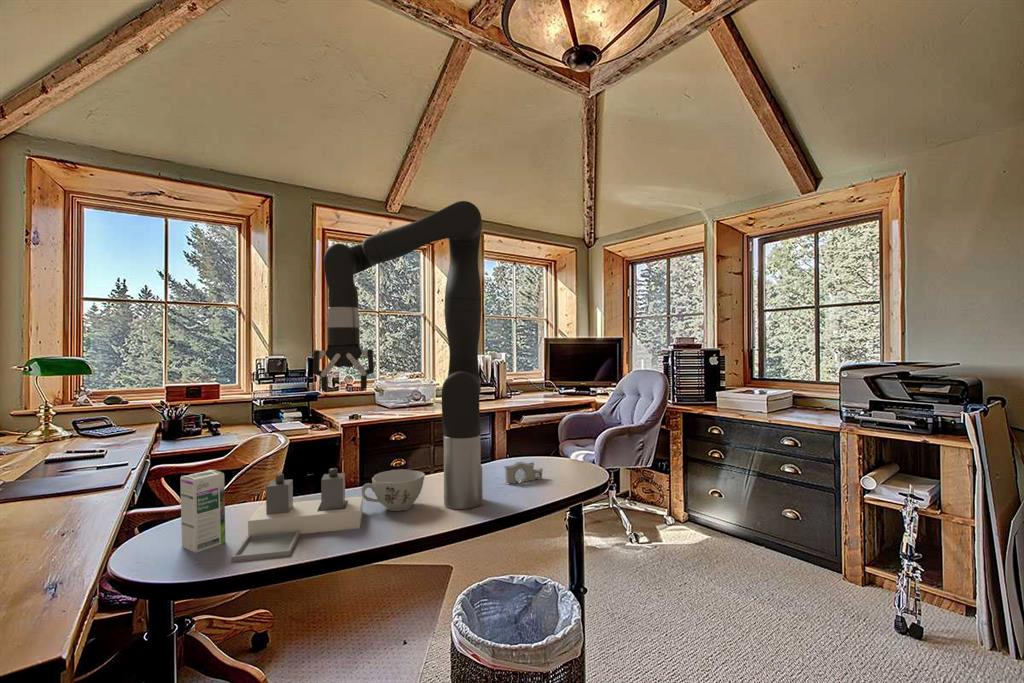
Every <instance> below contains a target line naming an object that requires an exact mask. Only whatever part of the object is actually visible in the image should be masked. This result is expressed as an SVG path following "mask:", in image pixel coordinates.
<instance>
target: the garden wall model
mask: <svg viewBox="0 0 1024 683" xmlns="http://www.w3.org/2000/svg"><path fill="white" fill-rule="evenodd" d="M534 466H535V462H533V461H532V462H527V463H526V462H524V461H517V462H515V463H514V464H512V465H505V466H504V469H505V484H506V483H513V484H515V483H514V482H519V481H520V480H521V482H523V483H524V481H526V482H530V481H529V480H532V481H536V480H535V479H538V480H542V479H543V470H544V469H543V468H538V469H537V468H536V469H534V468H535V467H534Z"/></svg>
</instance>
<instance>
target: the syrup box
mask: <svg viewBox="0 0 1024 683" xmlns="http://www.w3.org/2000/svg"><path fill="white" fill-rule="evenodd" d="M225 490H226V489H225V473H224V472H222V471H219V470H217V469H208V470H206V471H205V470H204V471H202V472H195V473H191V474H188V475H181V476H180V514H181V515H180V522H181V525H180V526H181V547H182V548H184V549H186V550H188V551H191V552H193V553H195V554H196V553H199V552H203V551H205V550H209V549H211V548H214V547H216V546H219V545H223V544H225V543H226V507H225V506H226V503H225V502H226V497H225V496H226V495H225Z"/></svg>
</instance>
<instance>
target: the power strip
mask: <svg viewBox="0 0 1024 683" xmlns="http://www.w3.org/2000/svg"><path fill="white" fill-rule="evenodd" d="M284 475H285V474H284V473H277V474H276V475H275V480H271V481H269V483H268V484H267V485H266V487H265V498H266V499H265V503H264V504H260V506H258V508H257V509H256V511H255V512H254V513H252V515H251V516H250V517H249V519H248V521H247V535H256V534H267V533H277V532H288V531H298V530H300V535H302V534H311V533H312V534H314V533H323V532H334V531H342V530H343V531H344V530H345V531H346V530H354V529H356V530H357V529H360V528H361V522H362V517H363V512H364V511H363V508H364V507H363V499H364V498H363V496H362V495H361V496H350V497H349V496H348V497H345V509H341V510H329V511H321V499H315V500H314V499H313V500H304V501H303V500H301V501H294V496H293V495H294V492H293V491H294V484H293V483H294V480H293V479H285V476H284Z"/></svg>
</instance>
